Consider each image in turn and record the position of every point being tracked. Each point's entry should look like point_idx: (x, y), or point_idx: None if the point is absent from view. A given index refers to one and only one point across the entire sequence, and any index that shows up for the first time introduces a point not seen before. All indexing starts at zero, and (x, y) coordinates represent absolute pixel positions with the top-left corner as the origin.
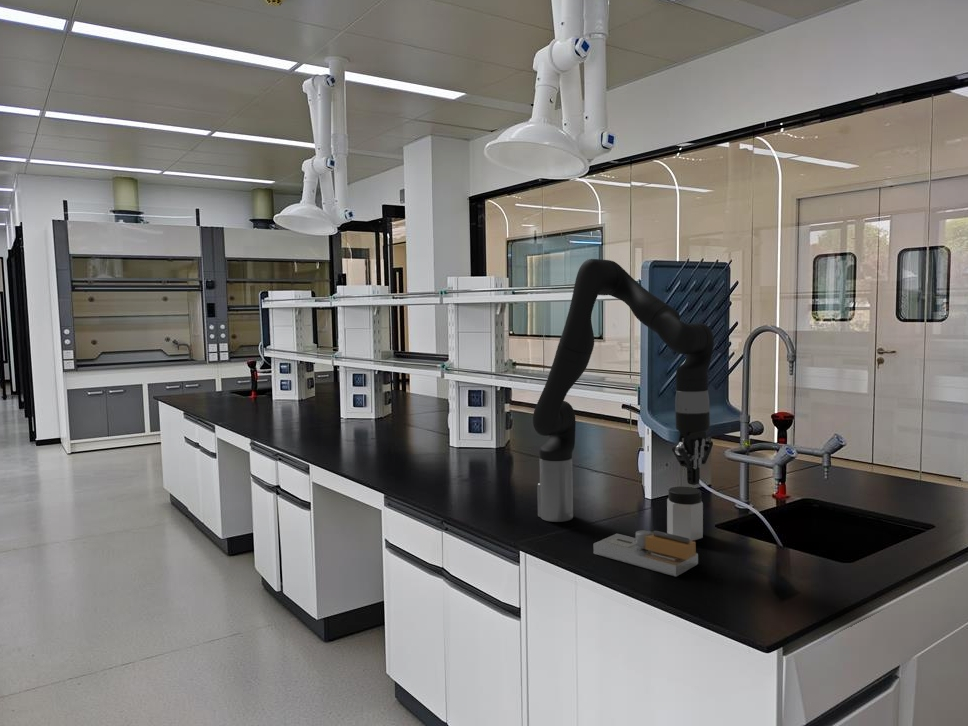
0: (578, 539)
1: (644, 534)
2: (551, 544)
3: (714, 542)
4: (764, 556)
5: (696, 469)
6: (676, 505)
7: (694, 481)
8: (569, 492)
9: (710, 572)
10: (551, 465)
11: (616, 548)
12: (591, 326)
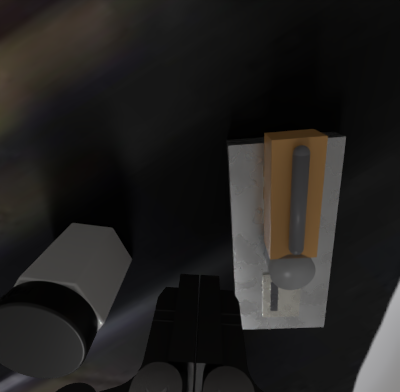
0: (266, 361)
1: (302, 266)
2: (320, 373)
3: (73, 190)
4: (51, 47)
5: (209, 360)
6: (100, 311)
7: (219, 293)
8: None
9: (254, 88)
10: None
11: (321, 285)
12: None
